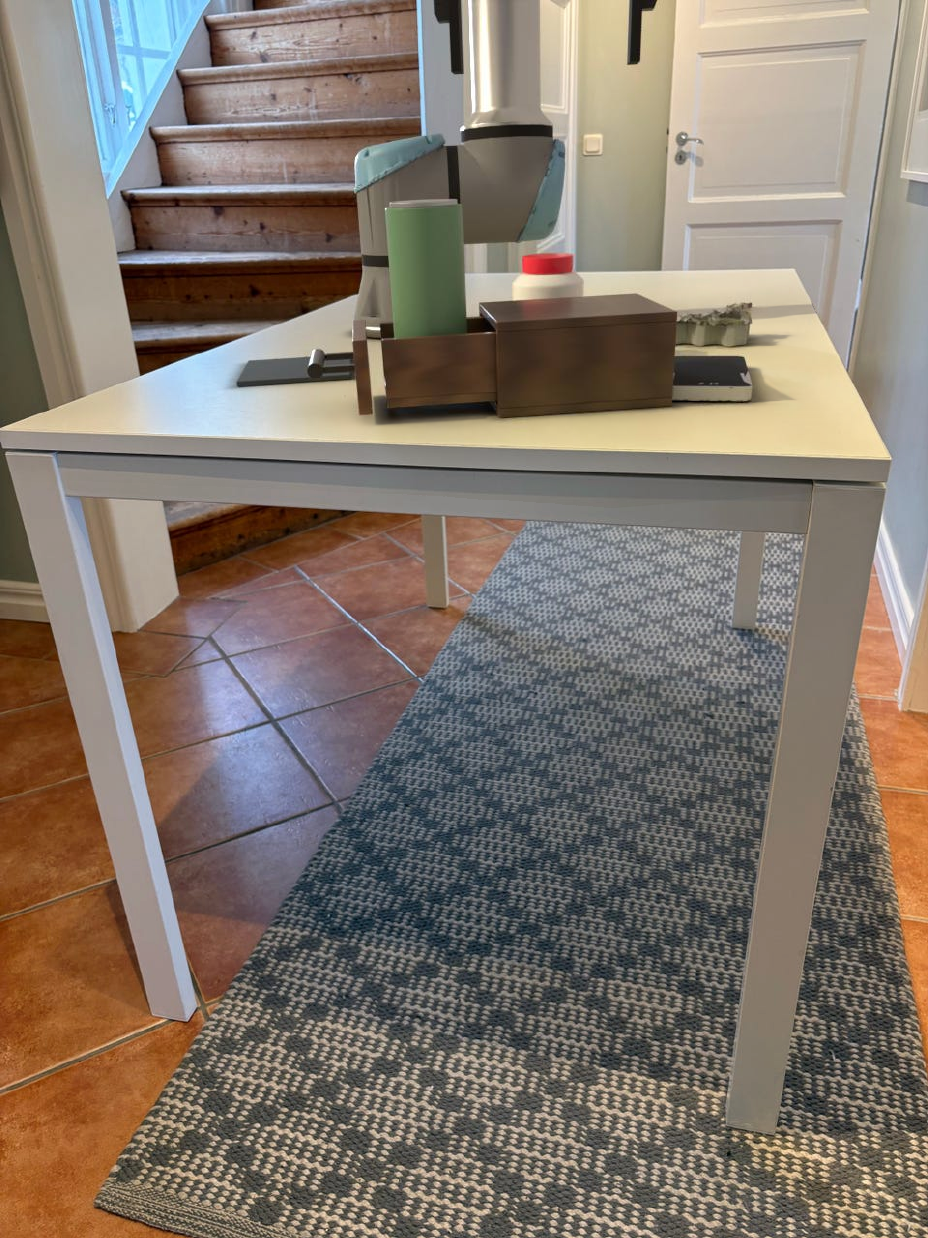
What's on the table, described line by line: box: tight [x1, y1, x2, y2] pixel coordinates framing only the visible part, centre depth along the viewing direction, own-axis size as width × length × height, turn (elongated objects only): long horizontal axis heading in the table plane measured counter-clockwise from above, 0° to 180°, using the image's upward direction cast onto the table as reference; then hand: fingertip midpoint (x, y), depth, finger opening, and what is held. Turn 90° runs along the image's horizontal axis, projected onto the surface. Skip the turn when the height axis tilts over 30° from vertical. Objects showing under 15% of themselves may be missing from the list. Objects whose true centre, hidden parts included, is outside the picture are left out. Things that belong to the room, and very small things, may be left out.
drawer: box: [307, 315, 497, 416], centre depth 82 cm, size 19×11×6 cm, turn 96°
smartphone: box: [672, 355, 754, 402], centre depth 87 cm, size 8×1×15 cm
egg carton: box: [675, 302, 754, 348], centre depth 106 cm, size 11×8×4 cm
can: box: [385, 199, 468, 338], centre depth 80 cm, size 7×7×15 cm
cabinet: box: [478, 293, 678, 419], centre depth 83 cm, size 16×13×8 cm
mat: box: [235, 356, 352, 387], centre depth 101 cm, size 12×12×1 cm
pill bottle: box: [511, 252, 585, 301], centre depth 98 cm, size 8×8×11 cm
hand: (544, 68), depth 70 cm, fingers open, 13 cm apart
